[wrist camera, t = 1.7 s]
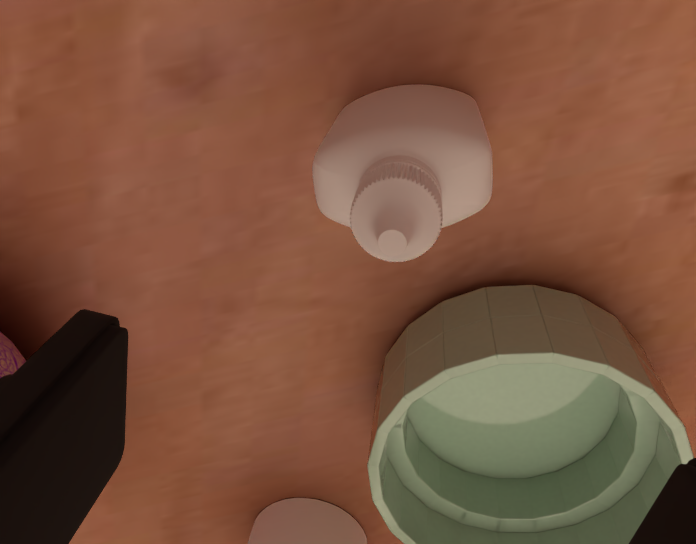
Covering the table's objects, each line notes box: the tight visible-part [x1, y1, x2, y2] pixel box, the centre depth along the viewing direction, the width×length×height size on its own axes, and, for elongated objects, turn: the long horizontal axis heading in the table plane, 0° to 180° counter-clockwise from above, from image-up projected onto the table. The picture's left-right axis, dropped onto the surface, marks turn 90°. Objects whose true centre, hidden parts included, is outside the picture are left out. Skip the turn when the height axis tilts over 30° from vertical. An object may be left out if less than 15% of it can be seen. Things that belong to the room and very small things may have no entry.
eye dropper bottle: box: [312, 84, 493, 262], centre depth 20 cm, size 4×6×12 cm
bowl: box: [367, 285, 694, 544], centre depth 28 cm, size 13×13×6 cm
